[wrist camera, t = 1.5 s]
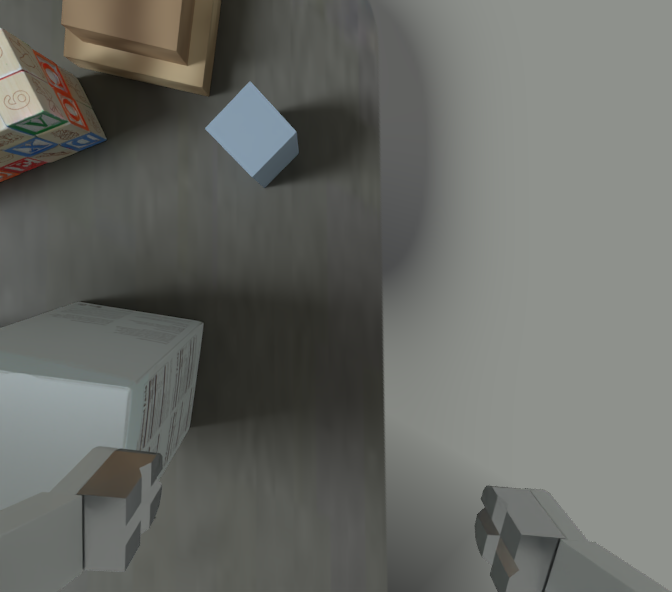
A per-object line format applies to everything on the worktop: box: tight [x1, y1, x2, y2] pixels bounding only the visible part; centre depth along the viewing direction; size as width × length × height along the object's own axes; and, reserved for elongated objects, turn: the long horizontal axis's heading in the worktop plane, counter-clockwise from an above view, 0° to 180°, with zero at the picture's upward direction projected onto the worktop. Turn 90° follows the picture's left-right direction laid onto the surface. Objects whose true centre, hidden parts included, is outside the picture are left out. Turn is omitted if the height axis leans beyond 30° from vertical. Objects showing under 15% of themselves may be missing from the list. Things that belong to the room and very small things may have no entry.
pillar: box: [205, 82, 299, 188], centre depth 34 cm, size 5×5×9 cm
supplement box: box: [0, 302, 204, 510], centre depth 33 cm, size 13×13×18 cm
